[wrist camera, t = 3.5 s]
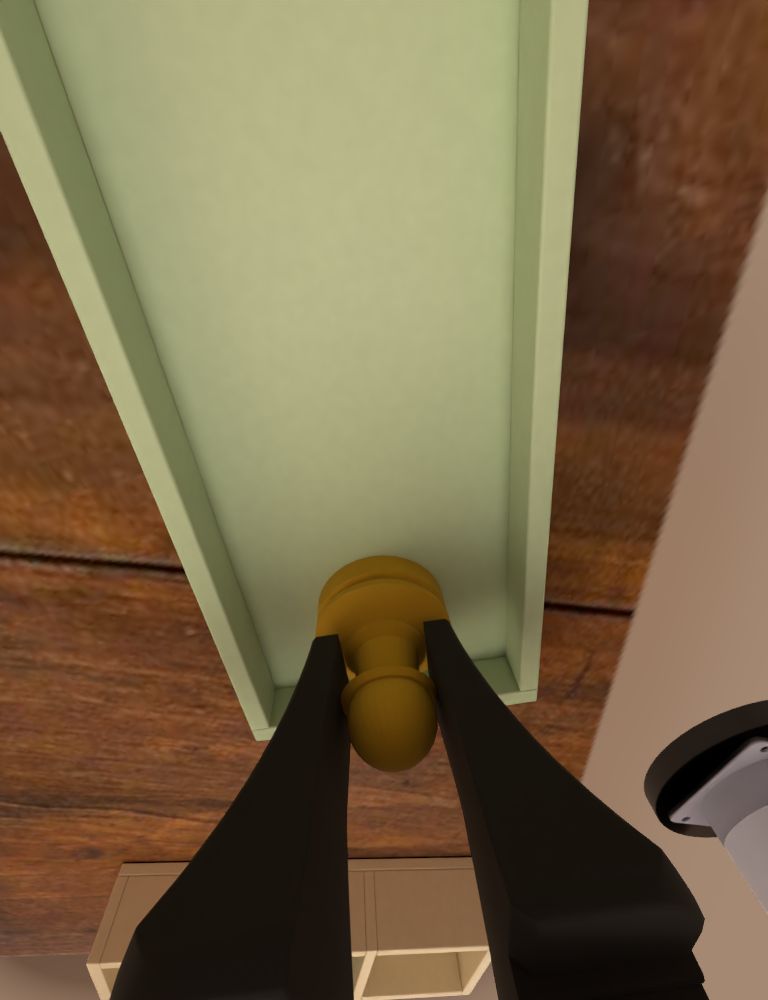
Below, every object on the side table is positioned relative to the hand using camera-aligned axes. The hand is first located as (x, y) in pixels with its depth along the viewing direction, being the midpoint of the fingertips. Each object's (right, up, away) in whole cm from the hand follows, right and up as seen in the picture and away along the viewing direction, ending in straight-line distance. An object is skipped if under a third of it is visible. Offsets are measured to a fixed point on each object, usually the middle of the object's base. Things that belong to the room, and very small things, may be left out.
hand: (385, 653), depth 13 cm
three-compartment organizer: (-4, -16, +12) cm, 20 cm away
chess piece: (0, +1, +2) cm, 2 cm away
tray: (-2, +13, -4) cm, 14 cm away
